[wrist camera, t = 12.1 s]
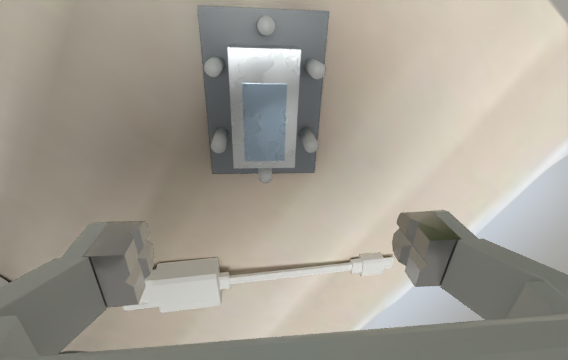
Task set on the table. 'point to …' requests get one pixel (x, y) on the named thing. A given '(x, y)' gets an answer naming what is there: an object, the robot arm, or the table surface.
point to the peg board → (262, 31)
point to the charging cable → (228, 280)
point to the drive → (264, 104)
